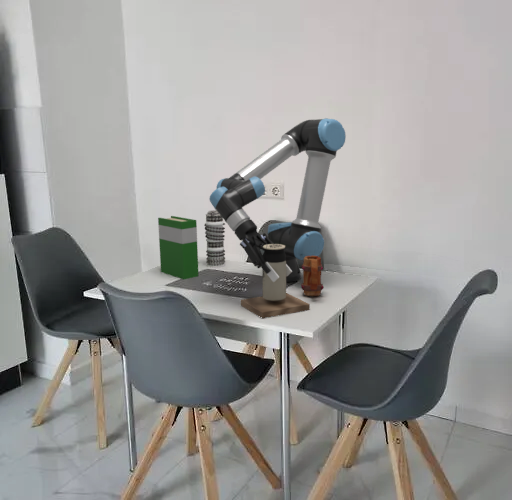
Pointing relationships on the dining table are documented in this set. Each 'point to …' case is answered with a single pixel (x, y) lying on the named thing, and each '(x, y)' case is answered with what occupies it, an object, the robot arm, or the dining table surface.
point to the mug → (312, 276)
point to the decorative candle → (215, 239)
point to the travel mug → (278, 263)
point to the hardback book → (178, 247)
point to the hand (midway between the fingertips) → (282, 276)
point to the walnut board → (274, 306)
